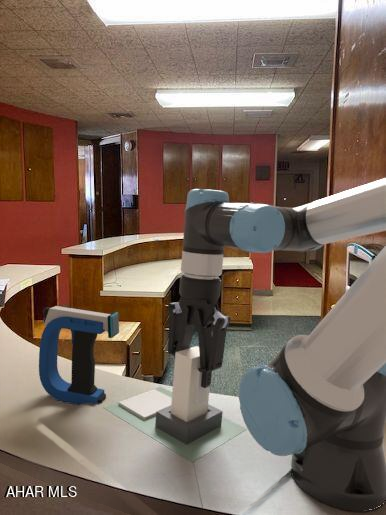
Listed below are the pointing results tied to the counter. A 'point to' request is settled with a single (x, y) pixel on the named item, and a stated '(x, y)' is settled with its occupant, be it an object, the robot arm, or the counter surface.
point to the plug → (187, 386)
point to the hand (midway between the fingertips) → (190, 397)
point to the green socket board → (175, 424)
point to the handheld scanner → (73, 352)
